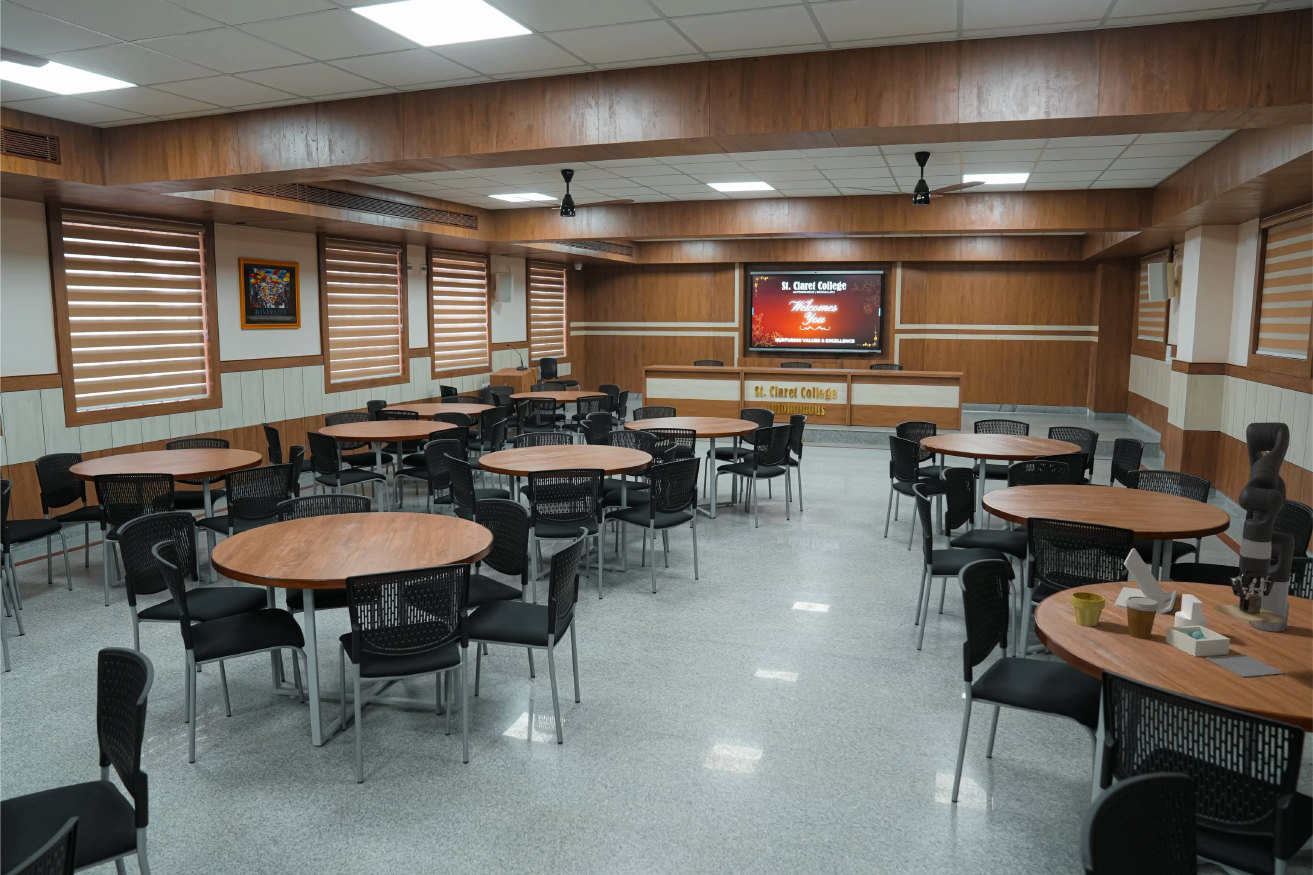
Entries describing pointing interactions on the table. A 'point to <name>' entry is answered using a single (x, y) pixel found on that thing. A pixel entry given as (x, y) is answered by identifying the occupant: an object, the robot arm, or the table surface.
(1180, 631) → the box
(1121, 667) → the table surface
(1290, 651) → the table surface
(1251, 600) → the lid
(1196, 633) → the ball
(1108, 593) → the table surface
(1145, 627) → the disposable coffee cup
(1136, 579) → the tablet stand
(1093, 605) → the plant pot
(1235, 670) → the mat
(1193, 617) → the white knob
